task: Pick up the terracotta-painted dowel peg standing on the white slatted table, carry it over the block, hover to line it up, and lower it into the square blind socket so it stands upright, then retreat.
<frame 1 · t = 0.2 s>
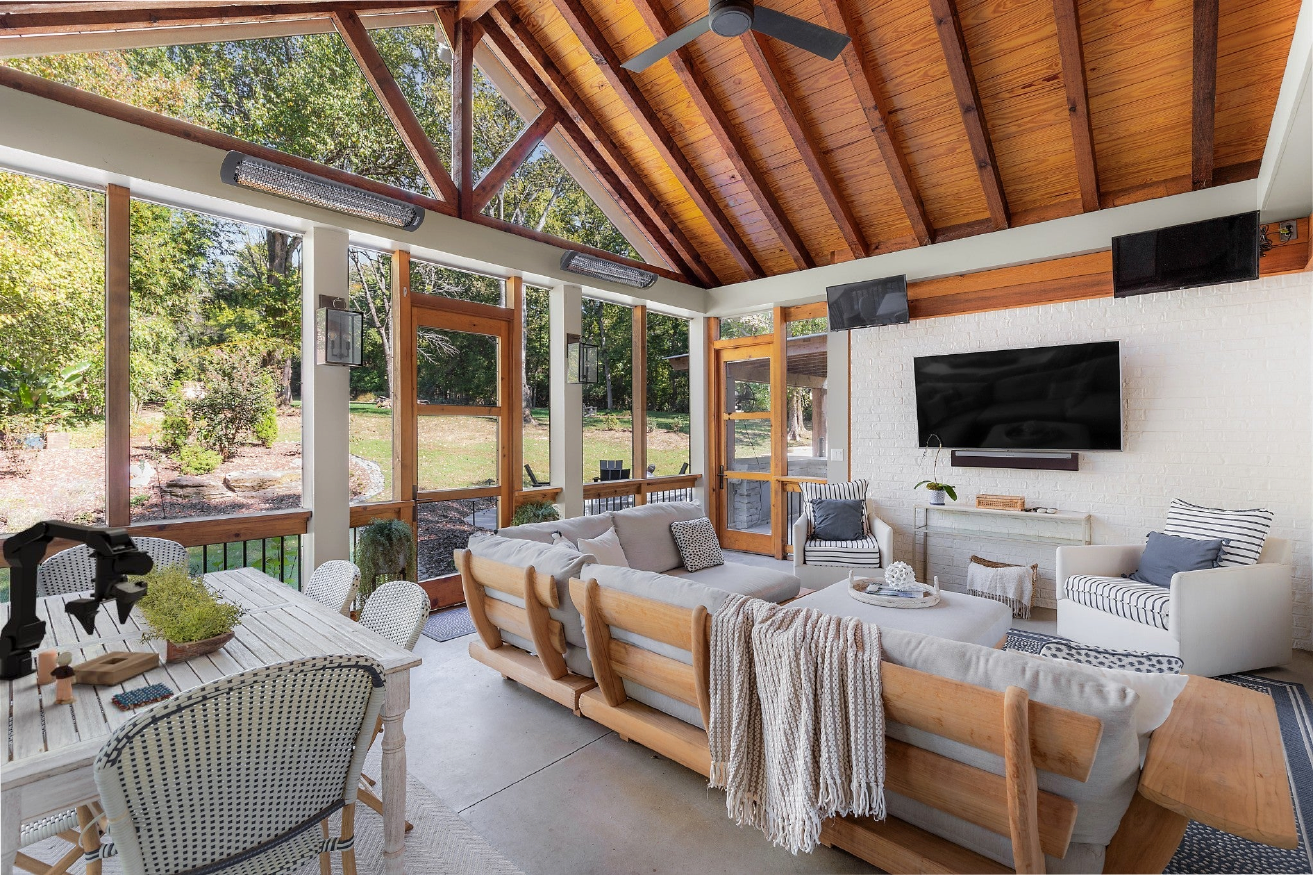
hand: (106, 629, 164), 14 cm above the table, fingers open, 9 cm apart
grandmother figurine: (63, 702, 151), on the table
bore block: (113, 675, 167), on the table
woven mat: (142, 701, 153), on the table
peg: (47, 681, 162), on the table
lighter: (182, 660, 180), on the table
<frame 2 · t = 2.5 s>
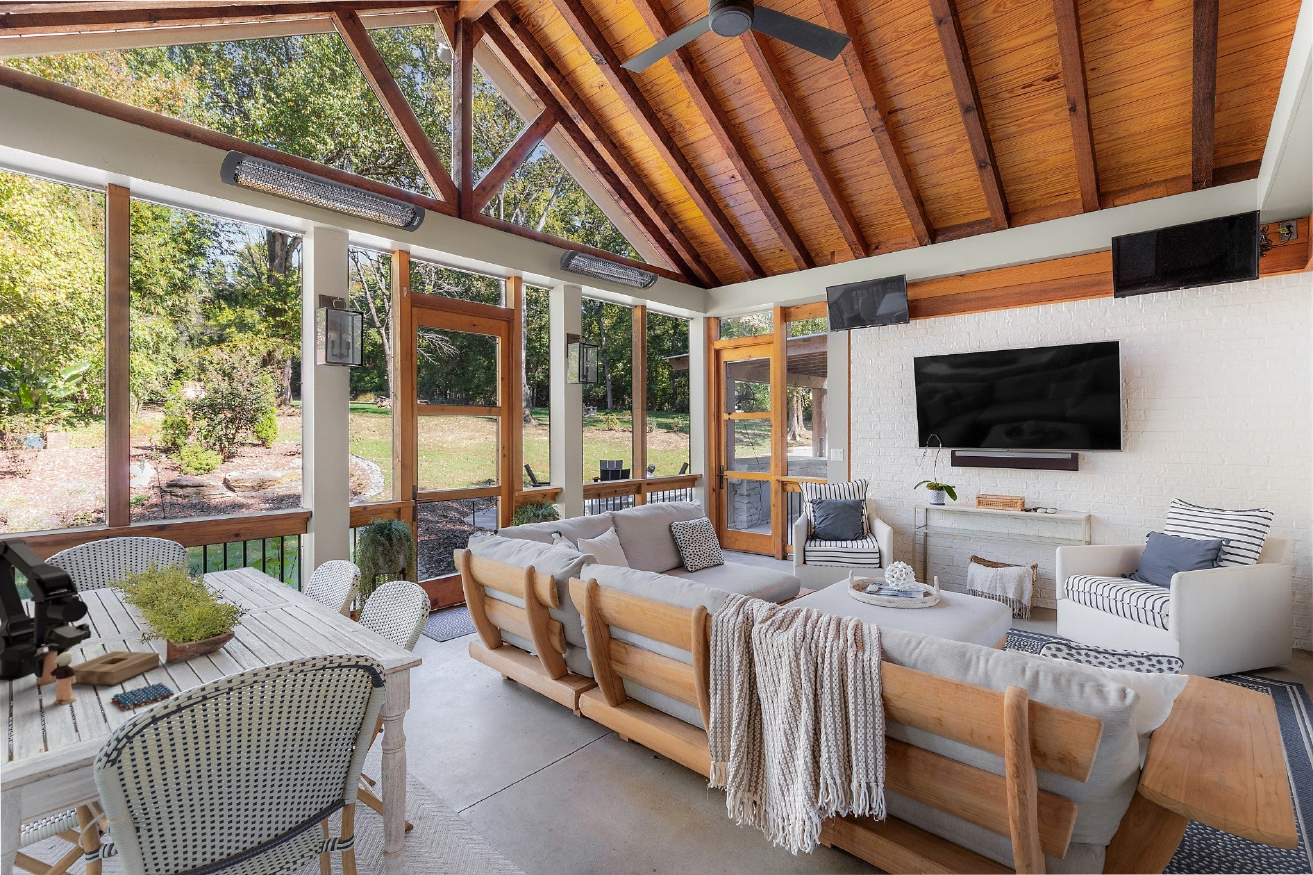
hand: (47, 674, 162), 2 cm above the table, fingers closed on peg, 4 cm apart
peg: (47, 681, 162), on the table, touching gripper
everything else where it was.
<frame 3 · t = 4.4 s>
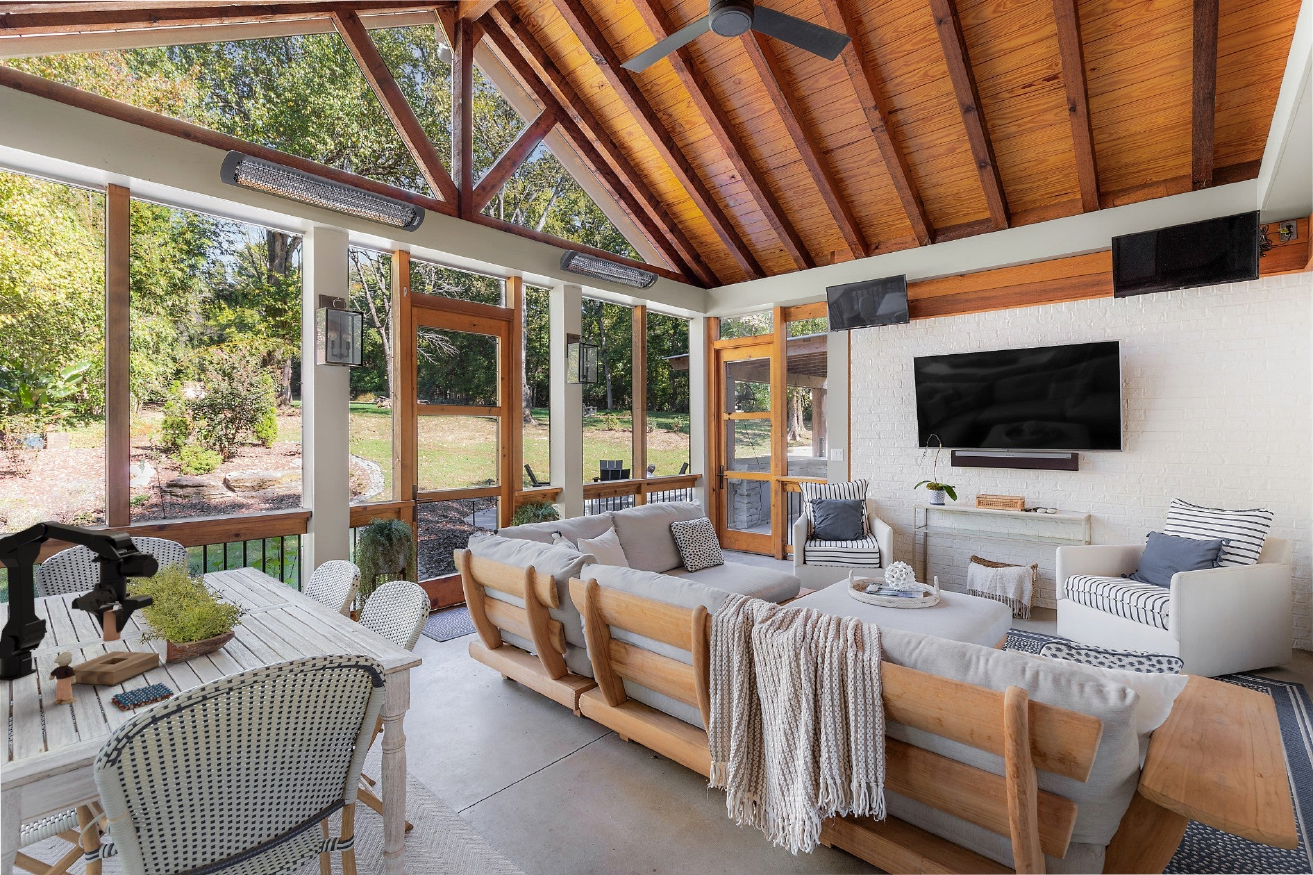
hand: (112, 632, 167), 12 cm above the table, fingers closed on peg, 4 cm apart
peg: (111, 639, 167), point 10 cm above the table, touching gripper
everything else where it was.
when the fingers open (5 cm above the table, at t = 6.4 s): peg drops 2 cm, resting on bore block.
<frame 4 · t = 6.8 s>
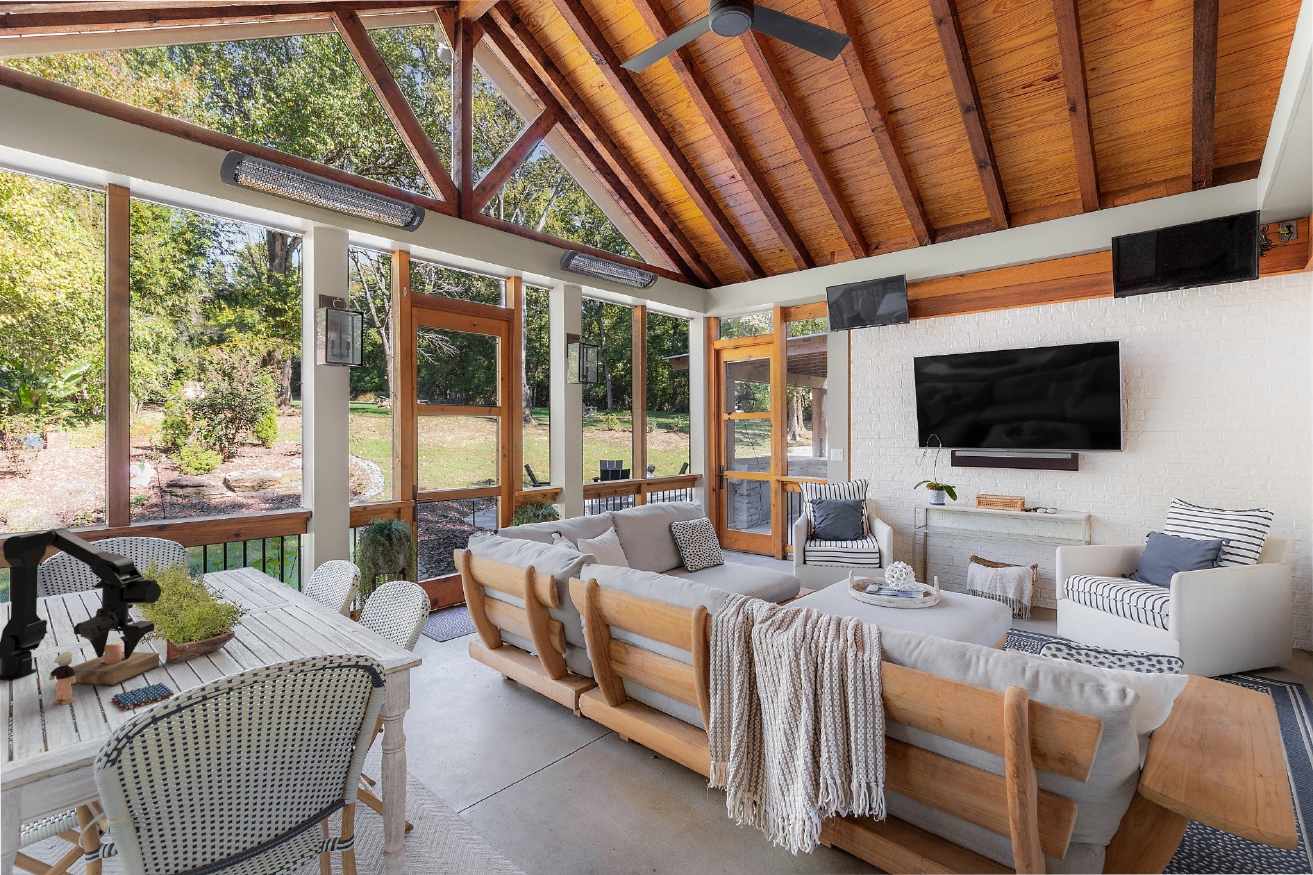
hand: (113, 657, 167), 5 cm above the table, fingers open, 8 cm apart
peg: (112, 672, 167), point 1 cm above the table, touching bore block
everything else where it was.
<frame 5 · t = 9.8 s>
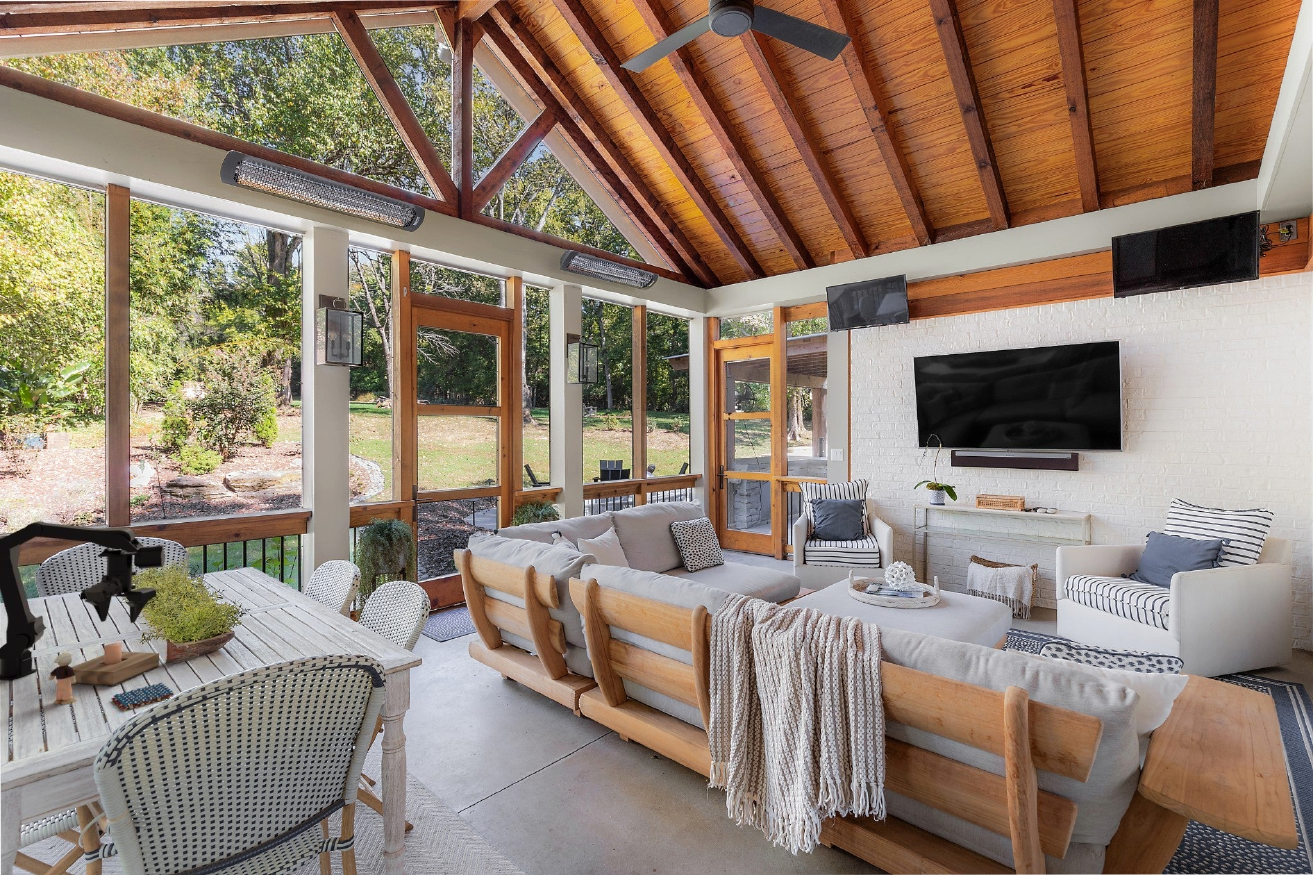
hand: (118, 622, 177), 12 cm above the table, fingers open, 9 cm apart
nothing on the table moved.
at the end: peg 0.1 cm off-centre on the bore block, point 0.6 cm above the bore block's base; peg tilted 1°; the gripper is holding nothing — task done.
